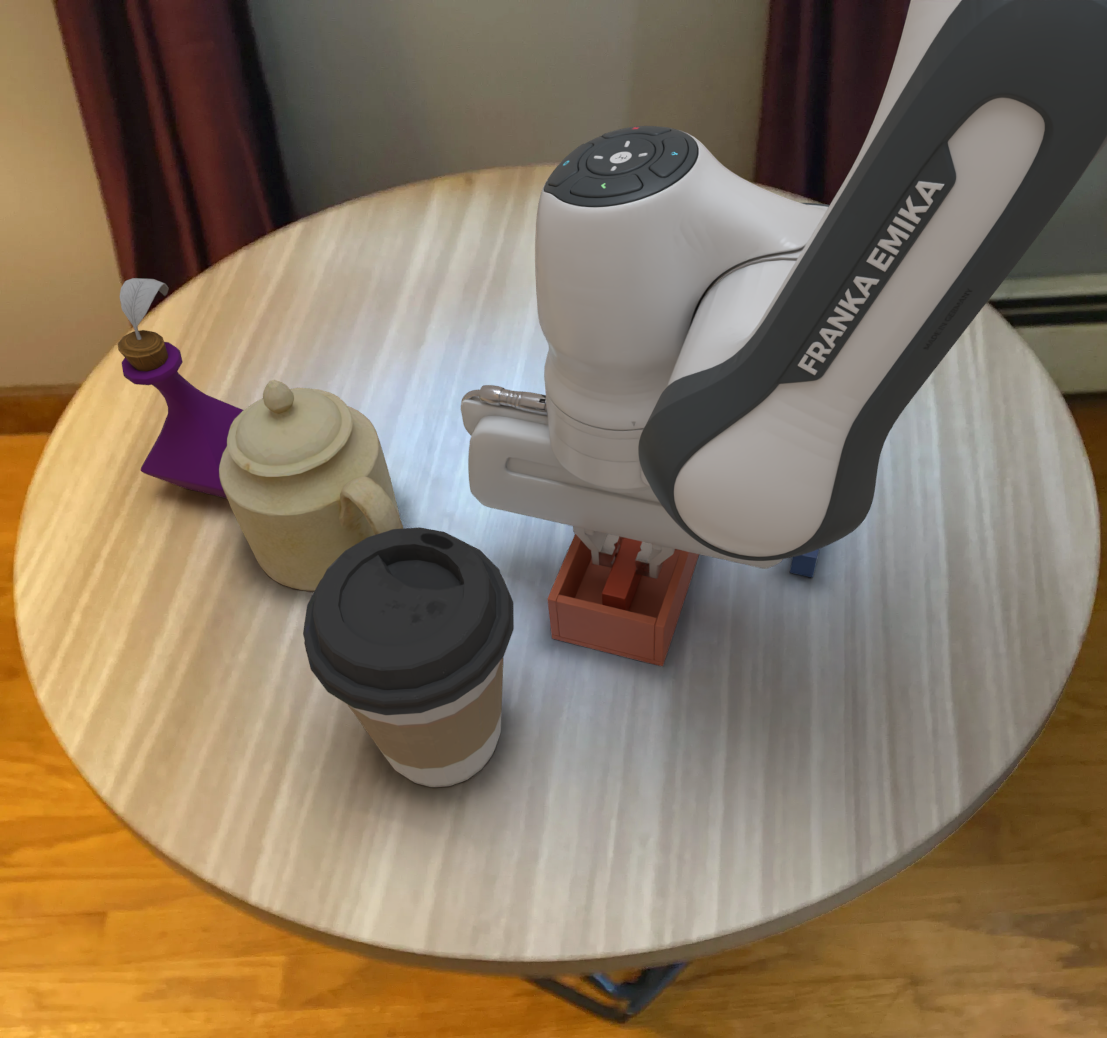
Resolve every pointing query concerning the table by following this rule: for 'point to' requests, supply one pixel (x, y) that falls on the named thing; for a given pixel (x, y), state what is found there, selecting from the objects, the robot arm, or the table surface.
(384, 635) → the coffee cup
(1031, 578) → the table surface
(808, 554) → the blue spoon
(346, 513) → the sugar bowl
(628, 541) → the red spoon
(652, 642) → the red bin
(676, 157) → the robot arm
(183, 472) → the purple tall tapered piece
